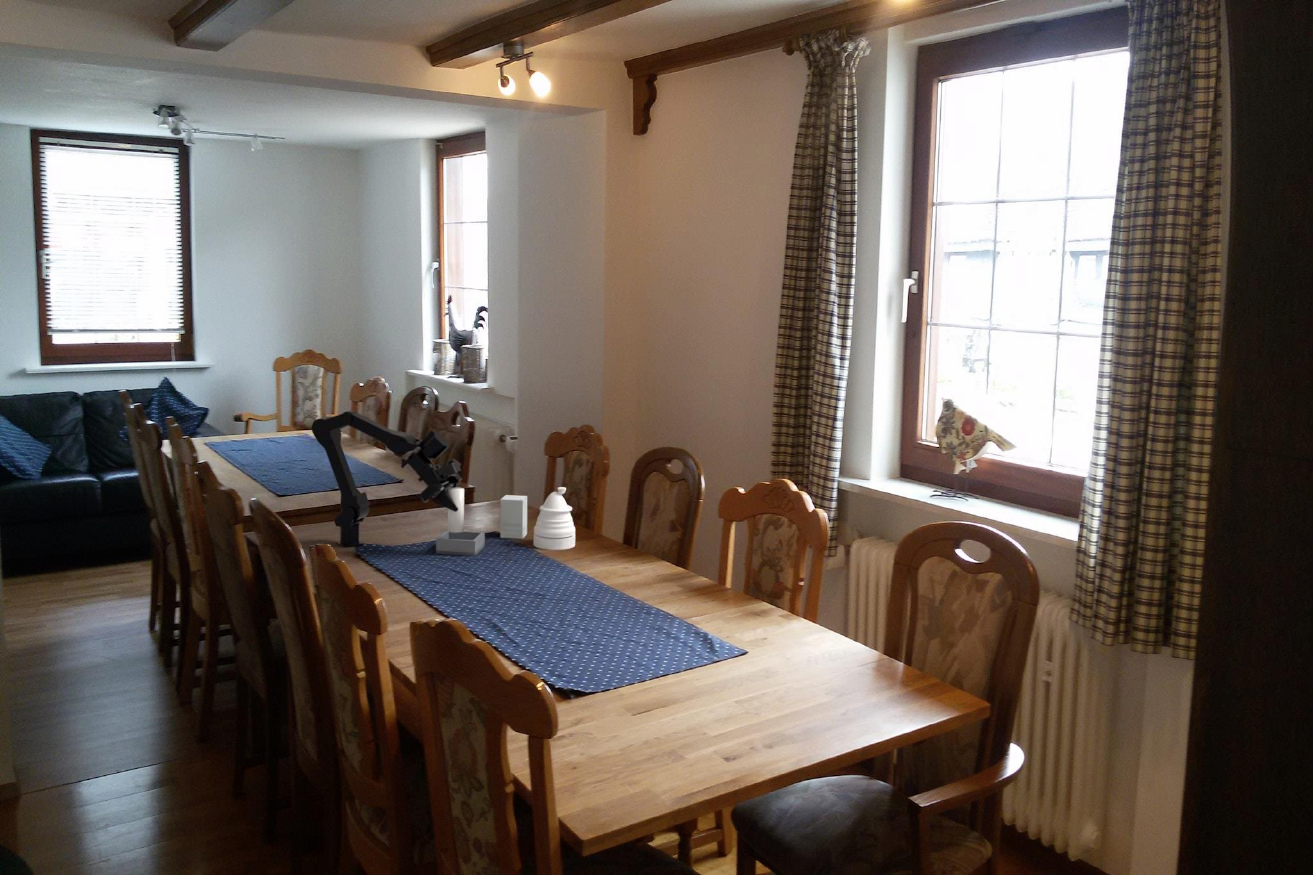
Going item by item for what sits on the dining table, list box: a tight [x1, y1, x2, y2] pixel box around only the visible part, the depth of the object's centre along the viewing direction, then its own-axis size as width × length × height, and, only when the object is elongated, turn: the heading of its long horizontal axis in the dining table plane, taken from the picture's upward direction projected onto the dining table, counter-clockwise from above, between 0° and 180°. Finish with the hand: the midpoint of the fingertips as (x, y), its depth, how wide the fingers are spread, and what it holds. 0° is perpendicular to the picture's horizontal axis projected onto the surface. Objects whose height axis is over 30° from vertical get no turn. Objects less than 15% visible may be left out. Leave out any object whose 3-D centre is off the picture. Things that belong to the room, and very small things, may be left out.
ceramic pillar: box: [447, 487, 465, 533], centre depth 309 cm, size 5×5×12 cm
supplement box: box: [499, 494, 528, 540], centre depth 334 cm, size 7×7×13 cm
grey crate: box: [435, 529, 486, 557], centre depth 314 cm, size 12×12×4 cm
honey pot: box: [533, 486, 576, 551], centre depth 325 cm, size 13×13×18 cm
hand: (460, 509), depth 308 cm, fingers closed on ceramic pillar, 5 cm apart
